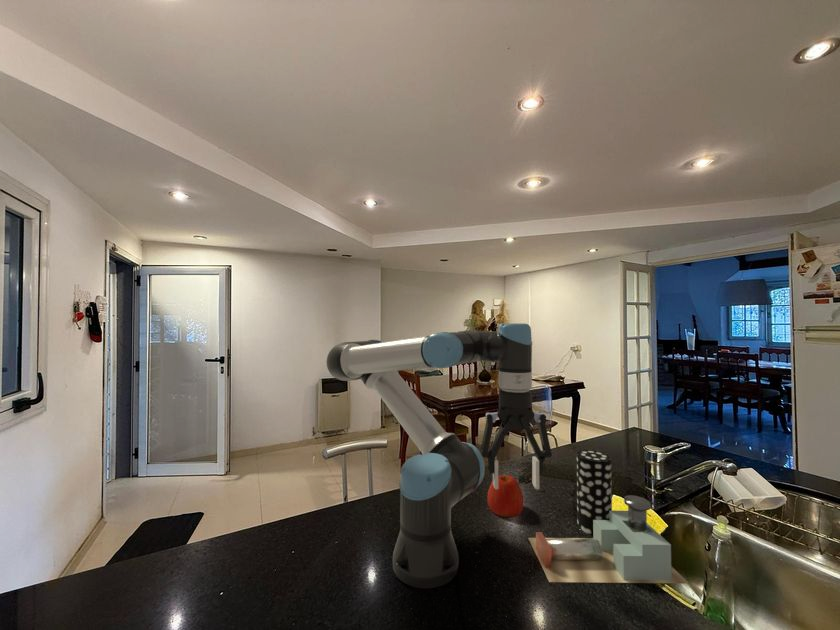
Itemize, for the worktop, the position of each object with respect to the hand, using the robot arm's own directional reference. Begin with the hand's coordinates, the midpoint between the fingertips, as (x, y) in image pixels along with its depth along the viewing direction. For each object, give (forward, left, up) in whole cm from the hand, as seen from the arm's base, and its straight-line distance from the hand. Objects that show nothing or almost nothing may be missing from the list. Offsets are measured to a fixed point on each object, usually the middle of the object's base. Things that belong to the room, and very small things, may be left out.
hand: (515, 486), depth 82 cm
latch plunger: (+28, 0, -9) cm, 29 cm away
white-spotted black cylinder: (+24, +12, -18) cm, 32 cm away
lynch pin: (+12, 0, -16) cm, 21 cm away
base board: (+20, 0, -17) cm, 26 cm away
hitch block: (+26, 0, -16) cm, 31 cm away
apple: (+2, +21, -18) cm, 28 cm away
